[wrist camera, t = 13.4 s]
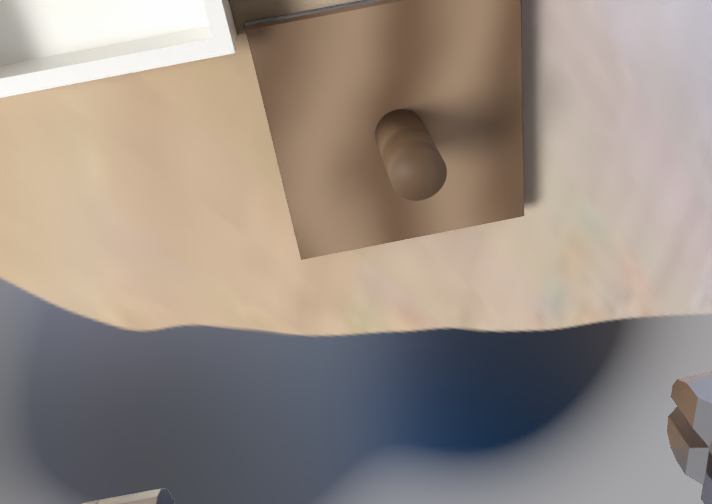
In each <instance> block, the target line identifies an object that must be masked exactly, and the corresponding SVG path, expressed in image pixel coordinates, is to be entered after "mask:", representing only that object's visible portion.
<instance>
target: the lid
mask: <svg viewBox="0 0 712 504" xmlns="http://www.w3.org/2000/svg"><path fill="white" fill-rule="evenodd" d="M246 33H247V37H248V41H249V45H250V49H251V54H252V58H253V62H254V66H255V70H256V74H257V78H258V83H259V87H260V91H261V95H262V99H263V103H264V107H265V112H266V116H267V120H268V124H269V128H270V132H271V136H272V141H273V145H274V149H275V153H276V157H277V161H278V165H279V170H280V174H281V178H282V182H283V186H284V190H285V194H286V199H287V203H288V207H289V211H290V215H291V219H292V223H293V227H294V232H295V236H296V240H297V244H298V248H299V252H300V256H301V260H302V259H307V258H312V257H317V256H322V255H328V254H333V253H338V252H343V251H348V250H353V249H358V248H363V247H368V246H373V245H379V244H384V243H389V242H394V241H399V240H404V239H409V238H414V237H419V236H424V235H430V234H435V233H440V232H445V231H450V230H455V229H460V228H465V227H470V226H475V225H481V224H486V223H491V222H496V221H501V220H506V219H511V218H516V217H521V216H524V184H523V119H522V54H521V0H381V1H376V2H371V3H366V4H360V5H355V6H350V7H345V8H339V9H334V10H329V11H323V12H318V13H313V14H308V15H302V16H297V17H292V18H287V19H281V20H276V21H271V22H266V23H260V24H255V25H250V26H246Z"/></svg>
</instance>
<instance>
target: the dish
mask: <svg viewBox="0 0 712 504" xmlns="http://www.w3.org/2000/svg"><path fill="white" fill-rule="evenodd" d="M236 40H237V33H236V29H235V25H234V21H233V17H232V13H231V9H230V5H229V1H228V0H0V98H1V97H6V96H12V95H17V94H22V93H27V92H33V91H38V90H43V89H48V88H54V87H59V86H64V85H69V84H75V83H80V82H85V81H90V80H96V79H101V78H106V77H111V76H117V75H122V74H127V73H133V72H138V71H143V70H148V69H154V68H159V67H164V66H169V65H175V64H180V63H185V62H190V61H196V60H201V59H206V58H211V57H217V56H222V55H227V54H233V53H235V49H236Z"/></svg>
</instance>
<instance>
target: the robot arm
mask: <svg viewBox="0 0 712 504" xmlns="http://www.w3.org/2000/svg"><path fill="white" fill-rule="evenodd" d="M671 398H672V399H673V400H674V402H675V403H676V405H677V407H676V408H675V409H674V411H673V412H672V413H671V414H670V415H669V416H668V426H667V433H668V437H669V442H670V446H671V449H672V451H673V454H674V456H675V458H676V460H677V462H678V464H679V465H680V467H681V468H682V470H683V472H684V473H685V474H686V475H687V476H689V477H691V478H692V479H694V480H696V481H698V482H700V483H701V484H703V488H702V495H701V500H702V501H703V503H704V504H712V372H708V373H703V374H699V375H695V376H690V377H685V378H681V379H677V380H676V381H675V383H674V384H673V386H672V393H671ZM82 504H174V499H173V498H172V496H171V494H170V493H169V491H168V489H167V488H163V489H157V490H152V491H146V492H140V493H135V494H130V495H124V496H118V497H113V498H107V499H102V500H98V501H93V502H88V503H82Z"/></svg>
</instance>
